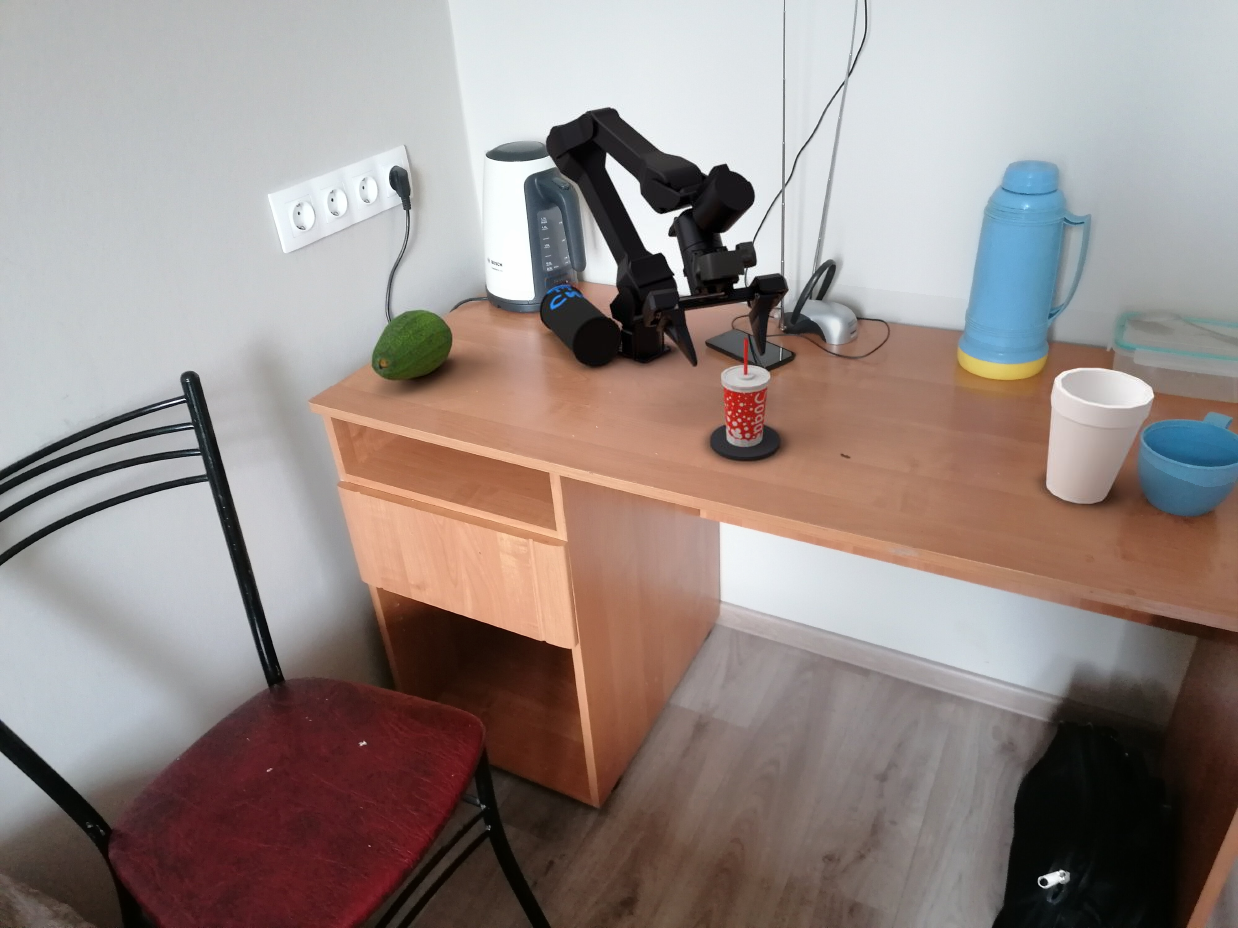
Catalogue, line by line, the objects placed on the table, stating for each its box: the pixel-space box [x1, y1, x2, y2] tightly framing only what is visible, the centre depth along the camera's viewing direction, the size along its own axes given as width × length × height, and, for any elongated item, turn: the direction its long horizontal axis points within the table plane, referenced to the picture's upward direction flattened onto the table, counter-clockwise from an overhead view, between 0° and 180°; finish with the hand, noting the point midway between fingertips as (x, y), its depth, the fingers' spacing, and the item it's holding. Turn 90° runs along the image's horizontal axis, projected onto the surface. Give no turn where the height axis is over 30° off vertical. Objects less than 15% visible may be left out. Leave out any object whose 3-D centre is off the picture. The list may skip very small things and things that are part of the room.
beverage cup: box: [720, 337, 771, 447], centre depth 107 cm, size 6×6×14 cm
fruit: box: [371, 309, 453, 381], centre depth 131 cm, size 15×10×10 cm, turn 150°
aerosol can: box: [539, 284, 622, 368], centre depth 138 cm, size 8×8×20 cm
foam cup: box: [1045, 367, 1155, 505], centre depth 94 cm, size 10×9×13 cm
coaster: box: [709, 424, 781, 462], centre depth 110 cm, size 9×9×1 cm
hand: (729, 360), depth 110 cm, fingers open, 9 cm apart
